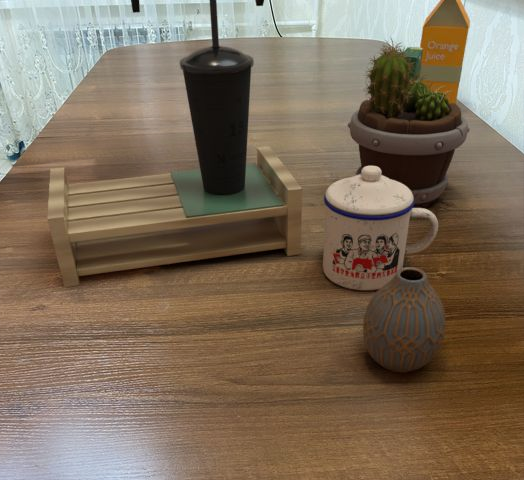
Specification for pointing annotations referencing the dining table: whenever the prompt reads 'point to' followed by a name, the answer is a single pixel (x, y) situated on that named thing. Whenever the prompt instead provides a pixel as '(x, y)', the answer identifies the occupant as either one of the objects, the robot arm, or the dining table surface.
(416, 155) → the flowerpot
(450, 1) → the orange juice
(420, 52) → the coffee box
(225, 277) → the dining table surface
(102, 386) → the dining table surface
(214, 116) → the drinking cup
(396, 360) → the vase
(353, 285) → the teacup with lid
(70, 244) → the rack
